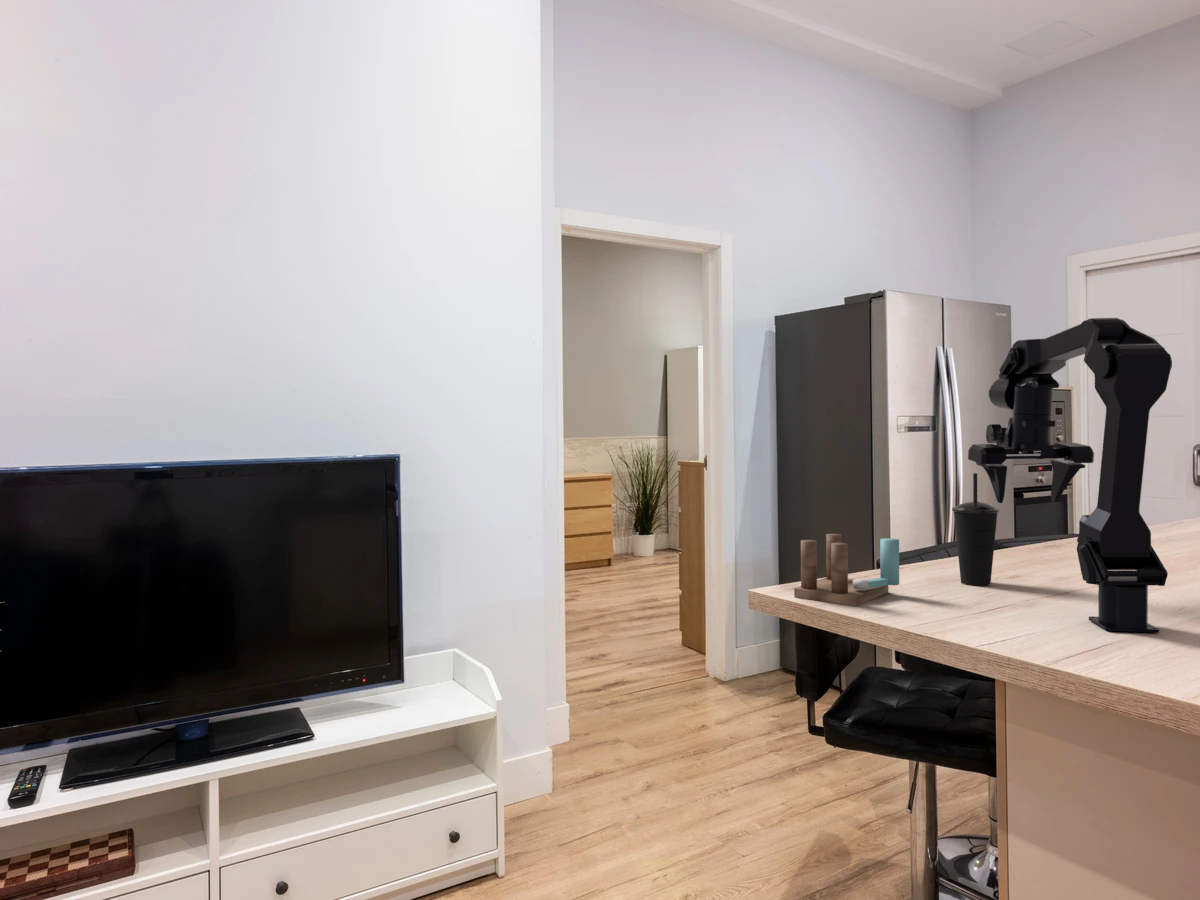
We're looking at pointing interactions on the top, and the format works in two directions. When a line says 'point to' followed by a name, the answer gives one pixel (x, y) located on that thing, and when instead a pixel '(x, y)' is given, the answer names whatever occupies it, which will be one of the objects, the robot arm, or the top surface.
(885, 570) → the hinged leg
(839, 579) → the brown peg stand
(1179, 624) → the top surface
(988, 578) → the drinking cup
